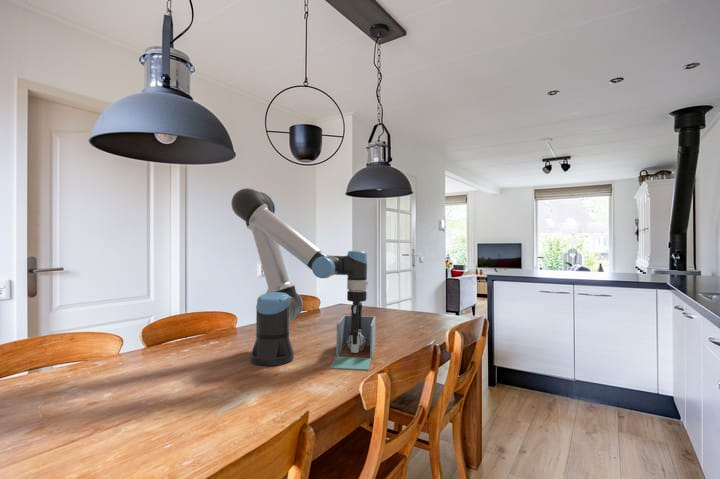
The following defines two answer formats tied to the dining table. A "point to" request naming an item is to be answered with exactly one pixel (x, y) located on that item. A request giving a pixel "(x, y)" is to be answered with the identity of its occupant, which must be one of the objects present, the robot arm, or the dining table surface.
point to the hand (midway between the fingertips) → (356, 348)
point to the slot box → (345, 328)
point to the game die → (361, 342)
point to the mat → (351, 363)
